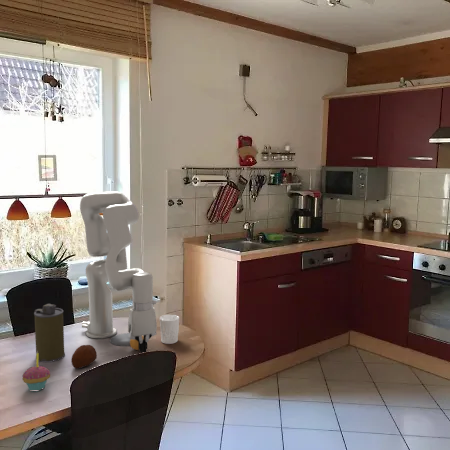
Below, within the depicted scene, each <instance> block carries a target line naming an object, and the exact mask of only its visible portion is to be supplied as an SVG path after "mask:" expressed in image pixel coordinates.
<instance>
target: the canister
mask: <svg viewBox="0 0 450 450" xmlns="http://www.w3.org/2000/svg"><path fill="white" fill-rule="evenodd" d="M64 313H65V312H64V310H63V308H61V307H60V308H59V307H57V304H51V303H46V304H44V305H42V308H37V309H35V310H34V312H33V315H34V335H35V338H34V339H35V355H36V354H37V351H38V353H39V360H40V361H39V362H42V361H52V362H54V361H53V360H56V361H59V360H62V359H63V358H64V357H65V356H66V352H65V333H64ZM62 357H63V358H62ZM58 359H59V360H58Z"/></svg>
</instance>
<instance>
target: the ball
mask: <svg viewBox="0 0 450 450" xmlns="http://www.w3.org/2000/svg"><path fill="white" fill-rule="evenodd" d="M142 340H143V335H142ZM129 347H131V348H132V349H133V350H134V351H139V344H138V341H137V340H133V339H131V340H130V346H129Z"/></svg>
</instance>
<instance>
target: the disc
mask: <svg viewBox="0 0 450 450" xmlns="http://www.w3.org/2000/svg"><path fill="white" fill-rule="evenodd" d="M129 334H130V333H129V332H126V333H119V334H115V335H113V336H111V337H110V339H109V343H110V344H112V345H114V346H118V347H131V346H130V340H131V339H130V338H129Z"/></svg>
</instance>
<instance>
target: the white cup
mask: <svg viewBox="0 0 450 450" xmlns="http://www.w3.org/2000/svg"><path fill="white" fill-rule="evenodd" d="M159 328H160V329H159V331H160V340H161V343H163V344H166V345H170V344H172V345H173V344H175V343H177V342H178V340H179V339H178V337H179V331H180V330H179V329H180V316H178V315H176V314H162V315H160V316H159Z"/></svg>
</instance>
